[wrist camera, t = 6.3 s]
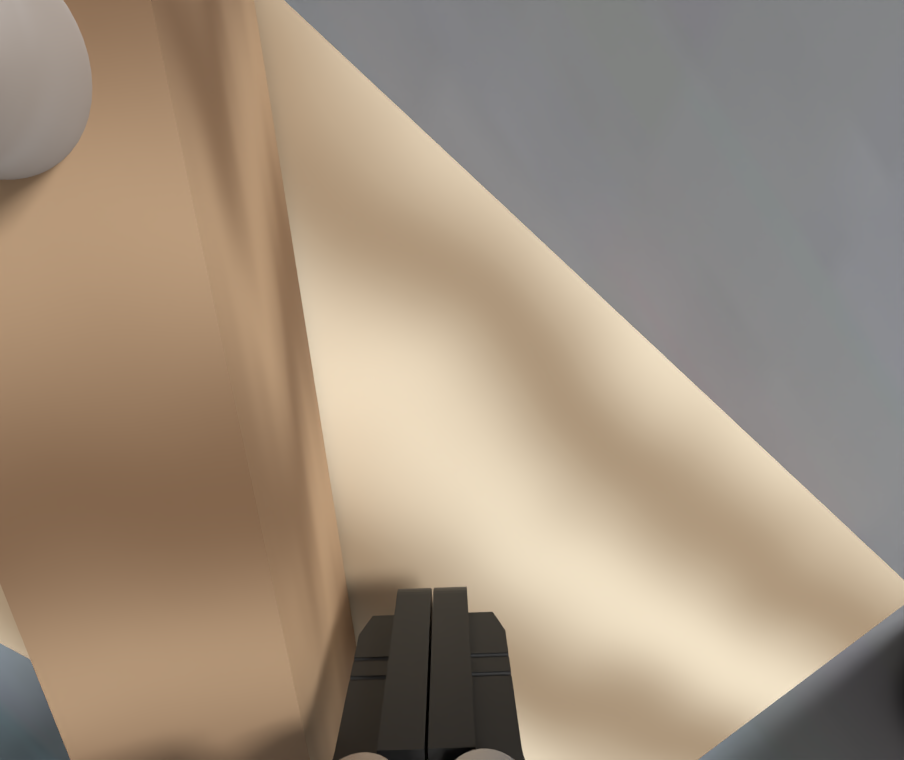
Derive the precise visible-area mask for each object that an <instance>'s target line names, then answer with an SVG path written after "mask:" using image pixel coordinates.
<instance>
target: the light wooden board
mask: <svg viewBox="0 0 904 760" xmlns="http://www.w3.org/2000/svg"><path fill="white" fill-rule="evenodd" d="M254 3H255V9H256V16H257V22H258V28H259V35H260V41H261V47H262V53H263V60H264V66H265V72H266V79H267V85H268V91H269V98H270V104H271V110H272V117H273V123H274V129H275V136H276V142H277V148H278V155H279V161H280V167H281V174H282V180H283V186H284V192H285V199H286V205H287V211H288V218H289V224H290V230H291V237H292V243H293V249H294V256H295V262H296V268H297V275H298V281H299V287H300V294H301V300H302V306H303V312H304V319H305V325H306V331H307V338H308V344H309V350H310V357H311V363H312V369H313V376H314V382H315V388H316V395H317V401H318V407H319V414H320V420H321V426H322V432H323V439H324V445H325V451H326V458H327V464H328V470H329V477H330V483H331V489H332V496H333V502H334V508H335V515H336V521H337V527H338V534H339V540H340V546H341V552H342V559H343V565H344V571H345V578H346V584H347V590H348V597H349V603H350V609H351V616H352V622H353V628H354V635H355V641H356V646H357V641H358V636H359V634H360V633H361V631H362V630H363V628H364V627H365V626H366V624H367V623H368V621H369V620H370V619H371V617H372V616H379V615H394V613H395V605H396V597H397V591H398V589H411V588H432V598H433V589H434V588H437V587H467V598H468V613H469V612H493V613H494V614H495V616H496V617H497V619H498V620H499V622H500V623H501V625H502V626H503V628H504V629H505V631H506V639H507V646H508V654H509V660H510V667H511V676H512V681H513V689H514V696H515V703H516V710H517V717H518V724H519V731H520V739H521V746H522V751H523V755H524V758H525V760H698V759H699V758H701V757H702V756H703V755H705V754H706V753H707V752H709V751H710V750H711V749H713V748H714V747H715V746H717V745H718V744H719V743H721V742H722V741H723V740H725V739H726V738H727V737H729V736H730V735H731V734H733V733H734V732H735V731H737V730H738V729H739V728H741V727H742V726H743V725H745V724H746V723H747V722H749V721H750V720H751V719H753V718H754V717H755V716H757V715H758V714H759V713H761V712H762V711H763V710H764V709H766V708H767V707H768V706H770V705H771V704H772V703H774V702H775V701H776V700H778V699H779V698H780V697H782V696H783V695H784V694H786V693H787V692H788V691H790V690H791V689H792V688H794V687H795V686H796V685H798V684H799V683H800V682H802V681H803V680H804V679H806V678H807V677H808V676H810V675H811V674H812V673H814V672H815V671H816V670H818V669H819V668H820V667H822V666H823V665H824V664H826V663H827V662H828V661H830V660H831V659H832V658H834V657H835V656H836V655H838V654H839V653H840V652H842V651H843V650H844V649H846V648H847V647H848V646H850V645H851V644H852V643H854V642H855V641H856V640H858V639H859V638H860V637H862V636H863V635H864V634H866V633H867V632H868V631H870V630H871V629H872V628H874V627H875V626H876V625H878V624H879V623H880V622H882V621H883V620H884V619H886V618H887V617H888V616H890V615H891V614H892V613H894V612H895V611H896V610H897V609H899V608H900V607H901V606H903V605H904V580H903V579H902V578H901V577H900V576H899V575H898V574H897V573H896V572H895V571H894V570H892V569H891V568H890V567H889V566H888V565H887V564H886V563H885V562H884V561H883V560H882V559H881V558H880V557H879V556H877V555H876V554H875V553H874V552H873V551H872V550H871V549H870V548H869V547H868V546H867V545H866V544H865V543H864V542H863V541H861V540H860V539H859V538H858V537H857V536H856V535H855V534H854V533H853V532H852V531H851V530H850V529H849V528H848V527H846V526H845V525H844V524H843V523H842V522H841V521H840V520H839V519H838V518H837V517H836V516H835V515H834V514H833V513H831V512H830V511H829V510H828V509H827V508H826V507H825V506H824V505H823V504H822V503H821V502H820V501H819V500H818V499H817V498H815V497H814V496H813V495H812V494H811V493H810V492H809V491H808V490H807V489H806V488H805V487H804V486H803V485H802V484H800V483H799V482H798V481H797V480H796V479H795V478H794V477H793V476H792V475H791V474H790V473H789V472H788V471H787V470H786V469H784V468H783V467H782V466H781V465H780V464H779V463H778V462H777V461H776V460H775V459H774V458H773V457H772V456H771V455H769V454H768V453H767V452H766V451H765V450H764V449H763V448H762V447H761V446H760V445H759V444H758V443H757V442H756V441H755V440H753V439H752V438H751V437H750V436H749V435H748V434H747V433H746V432H745V431H744V430H743V429H742V428H741V427H740V426H738V425H737V424H736V423H735V422H734V421H733V420H732V419H731V418H730V417H729V416H728V415H727V414H726V413H725V412H724V411H722V410H721V409H720V408H719V407H718V406H717V405H716V404H715V403H714V402H713V401H712V400H711V399H710V398H709V397H707V396H706V395H705V394H704V393H703V392H702V391H701V390H700V389H699V388H698V387H697V386H696V385H695V384H694V383H693V382H691V381H690V380H689V379H688V378H687V377H686V376H685V375H684V374H683V373H682V372H681V371H680V370H679V369H678V368H676V367H675V366H674V365H673V364H672V363H671V362H670V361H669V360H668V359H667V358H666V357H665V356H664V355H663V354H662V353H660V352H659V351H658V350H657V349H656V348H655V347H654V346H653V345H652V344H651V343H650V342H649V341H648V340H647V339H645V338H644V337H643V336H642V335H641V334H640V333H639V332H638V331H637V330H636V329H635V328H634V327H633V326H632V325H630V324H629V323H628V322H627V321H626V320H625V319H624V318H623V317H622V316H621V315H620V314H619V313H618V312H617V311H616V310H614V309H613V308H612V307H611V306H610V305H609V304H608V303H607V302H606V301H605V300H604V299H603V298H602V297H601V296H599V295H598V294H597V293H596V292H595V291H594V290H593V289H592V288H591V287H590V286H589V285H588V284H587V283H586V282H585V281H583V280H582V279H581V278H580V277H579V276H578V275H577V274H576V273H575V272H574V271H573V270H572V269H571V268H570V267H568V266H567V265H566V264H565V263H564V262H563V261H562V260H561V259H560V258H559V257H558V256H557V255H556V254H555V253H554V252H552V251H551V250H550V249H549V248H548V247H547V246H546V245H545V244H544V243H543V242H542V241H541V240H540V239H539V238H537V237H536V236H535V235H534V234H533V233H532V232H531V231H530V230H529V229H528V228H527V227H526V226H525V225H524V224H523V223H521V222H520V221H519V220H518V219H517V218H516V217H515V216H514V215H513V214H512V213H511V212H510V211H509V210H508V209H506V208H505V207H504V206H503V205H502V204H501V203H500V202H499V201H498V200H497V199H496V198H495V197H494V196H493V195H492V194H490V193H489V192H488V191H487V190H486V189H485V188H484V187H483V186H482V185H481V184H480V183H479V182H478V181H477V180H475V179H474V178H473V177H472V176H471V175H470V174H469V173H468V172H467V171H466V170H465V169H464V168H463V167H462V166H460V165H459V164H458V163H457V162H456V161H455V160H454V159H453V158H452V157H451V156H450V155H449V154H448V153H447V152H446V151H444V150H443V149H442V148H441V147H440V146H439V145H438V144H437V143H436V142H435V141H434V140H433V139H432V138H431V137H429V136H428V135H427V134H426V133H425V132H424V131H423V130H422V129H421V128H420V127H419V126H418V125H417V124H416V123H415V122H413V121H412V120H411V119H410V118H409V117H408V116H407V115H406V114H405V113H404V112H403V111H402V110H401V109H400V108H398V107H397V106H396V105H395V104H394V103H393V102H392V101H391V100H390V99H389V98H388V97H387V96H386V95H385V94H384V93H382V92H381V91H380V90H379V89H378V88H377V87H376V86H375V85H374V84H373V83H372V82H371V81H370V80H369V79H367V78H366V77H365V76H364V75H363V74H362V73H361V72H360V71H359V70H358V69H357V68H356V67H355V66H354V65H353V64H351V63H350V62H349V61H348V60H347V59H346V58H345V57H344V56H343V55H342V54H341V53H340V52H339V51H338V50H336V49H335V48H334V47H333V46H332V45H331V44H330V43H329V42H328V41H327V40H326V39H325V38H324V37H323V36H322V35H320V34H319V33H318V32H317V31H316V30H315V29H314V28H313V27H312V26H311V25H310V24H309V23H308V22H307V21H305V20H304V19H303V18H302V17H301V16H300V15H299V14H298V13H297V12H296V11H295V10H294V9H293V8H292V7H290V6H289V5H288V4H287V3H286V2H285V1H284V0H254ZM0 643H1V644H3V645H5V646H7V647H8V648H10V649H12V650H14V651H16V652H18V653H19V654H21V655H23V656H25V657H27V658H29V659H30V657H29V655H28V652H27V650H26V647H25V645H24V642H23V640H22V637H21V635H20V632H19V630H18V627H17V625H16V622H15V620H14V617H13V615H12V612H11V610H10V607H9V605H8V602H7V600H6V597H5V595H4V592H3V590H2V587H1V585H0Z"/></svg>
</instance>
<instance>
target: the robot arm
mask: <svg viewBox="0 0 904 760" xmlns="http://www.w3.org/2000/svg"><path fill="white" fill-rule="evenodd" d="M332 760H525V758H524V755H523V751H522V746H521V739H520V731H519V724H518V717H517V710H516V703H515V696H514V689H513V681H512V676H511V667H510V660H509V654H508V646H507V639H506V631H505V629H504V628H503V626H502V625H501V623H500V622H499V620H498V619H497V617H496V616H495V614H494V613H493V612H469V613H468V598H467V587H437V588H434V589H433V598H432V588H411V589H398V591H397V597H396V605H395V613H394V615H379V616H372V617H371V619H370V620H369V621H368V623H367V624H366V626H365V627H364V628H363V630H362V631H361V633H360V634H359V636H358V641H357V646H356V651H355V655H354V662H353V665H352V670H351V675H350V681H349V684H348V689H347V694H346V699H345V704H344V709H343V713H342V718H341V723H340V728H339V733H338V738H337V742H336V747H335V752H334V756H333V759H332Z"/></svg>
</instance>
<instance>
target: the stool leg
mask: <svg viewBox="0 0 904 760" xmlns="http://www.w3.org/2000/svg"><path fill="white" fill-rule="evenodd" d="M0 585H1V587H2V590H3V592H4V595H5V597H6V600H7V602H8V605H9V607H10V610H11V612H12V615H13V617H14V620H15V622H16V625H17V627H18V630H19V632H20V635H21V637H22V640H23V642H24V645H25V647H26V650H27V652H28V655H29V657H30V660H31V662H32V665H33V667H34V670H35V672H36V675H37V677H38V680H39V682H40V685H41V687H42V690H43V692H44V695H45V697H46V700H47V702H48V705H49V707H50V710H51V712H52V715H53V717H54V720H55V722H56V725H57V727H58V730H59V732H60V735H61V737H62V740H63V742H64V745H65V747H66V750H67V753H68V755H69V758H70V760H332V759H333V756H334V752H335V747H336V742H337V738H338V733H339V728H340V723H341V718H342V713H343V709H344V704H345V699H346V694H347V689H348V684H349V681H350V675H351V670H352V665H353V662H354V655H355V651H356V641H355V635H354V628H353V622H352V616H351V609H350V603H349V597H348V590H347V584H346V578H345V571H344V565H343V559H342V552H341V546H340V540H339V534H338V527H337V521H336V515H335V508H334V502H333V496H332V489H331V483H330V477H329V470H328V464H327V458H326V451H325V445H324V439H323V432H322V426H321V420H320V414H319V407H318V401H317V395H316V388H315V382H314V376H313V369H312V363H311V357H310V350H309V344H308V338H307V331H306V325H305V319H304V312H303V306H302V300H301V294H300V287H299V281H298V275H297V268H296V262H295V256H294V249H293V243H292V237H291V230H290V224H289V218H288V211H287V205H286V199H285V192H284V186H283V180H282V174H281V167H280V161H279V155H278V148H277V142H276V136H275V129H274V123H273V117H272V110H271V104H270V98H269V91H268V85H267V79H266V72H265V66H264V60H263V53H262V47H261V41H260V35H259V28H258V22H257V16H256V9H255V3H254V0H0Z"/></svg>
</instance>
